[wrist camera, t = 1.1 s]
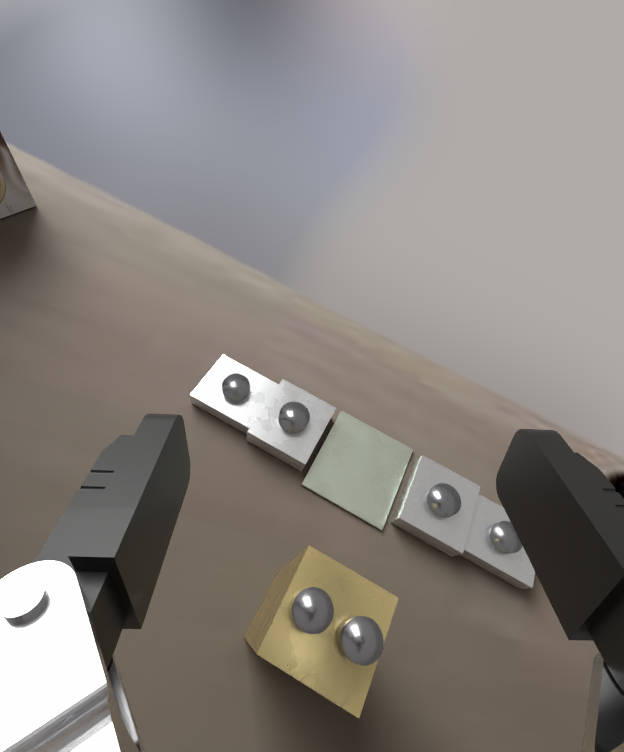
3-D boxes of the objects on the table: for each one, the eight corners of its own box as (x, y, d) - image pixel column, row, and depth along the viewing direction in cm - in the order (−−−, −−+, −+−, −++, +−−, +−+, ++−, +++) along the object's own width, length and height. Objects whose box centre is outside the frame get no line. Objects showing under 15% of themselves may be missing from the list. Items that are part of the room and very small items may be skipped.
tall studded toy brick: (244, 637, 27) (258, 657, 15) (276, 573, 30) (313, 541, 17) (301, 673, 27) (368, 726, 14) (329, 605, 29) (408, 596, 16)
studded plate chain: (180, 416, 35) (177, 401, 32) (231, 352, 39) (232, 335, 36) (516, 608, 31) (540, 607, 29) (532, 516, 36) (554, 509, 33)
